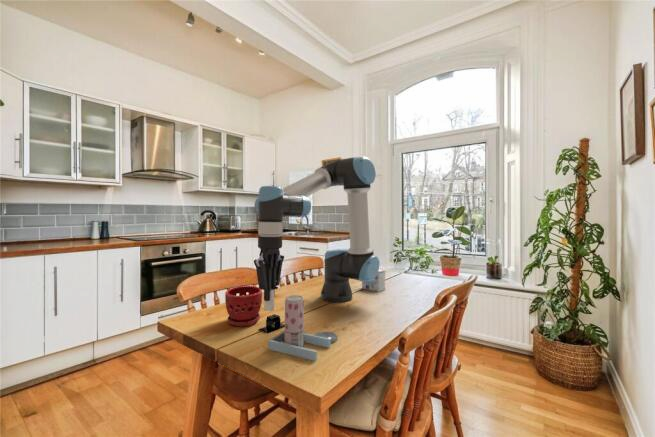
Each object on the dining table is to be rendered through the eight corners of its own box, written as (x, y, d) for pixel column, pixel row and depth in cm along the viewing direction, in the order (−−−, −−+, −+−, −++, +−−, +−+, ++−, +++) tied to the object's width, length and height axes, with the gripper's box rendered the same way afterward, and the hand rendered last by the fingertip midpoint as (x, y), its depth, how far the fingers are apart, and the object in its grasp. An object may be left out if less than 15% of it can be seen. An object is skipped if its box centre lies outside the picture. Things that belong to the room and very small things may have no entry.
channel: (286, 336, 97) (286, 329, 97) (330, 346, 90) (330, 338, 90) (268, 348, 88) (268, 340, 88) (315, 361, 82) (315, 352, 81)
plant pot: (219, 321, 110) (219, 289, 110) (252, 313, 119) (252, 283, 118) (233, 332, 100) (233, 297, 100) (268, 323, 109) (268, 290, 108)
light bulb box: (361, 288, 159) (361, 268, 159) (368, 286, 164) (368, 266, 164) (378, 292, 152) (379, 271, 152) (385, 289, 157) (385, 269, 157)
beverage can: (294, 340, 94) (294, 293, 94) (307, 346, 90) (307, 297, 90) (280, 346, 90) (280, 297, 90) (293, 352, 86) (293, 301, 86)
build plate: (265, 337, 98) (265, 323, 98) (252, 331, 103) (252, 318, 102) (293, 326, 107) (293, 314, 107) (279, 321, 112) (280, 309, 112)
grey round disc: (319, 331, 101) (319, 329, 101) (341, 336, 98) (341, 334, 98) (308, 340, 94) (308, 338, 94) (331, 345, 91) (331, 343, 91)
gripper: (272, 233, 101) (271, 302, 101) (246, 236, 89) (245, 314, 89) (291, 234, 97) (290, 306, 98) (267, 237, 86) (265, 318, 86)
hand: (269, 310), depth 94 cm, fingers closed
